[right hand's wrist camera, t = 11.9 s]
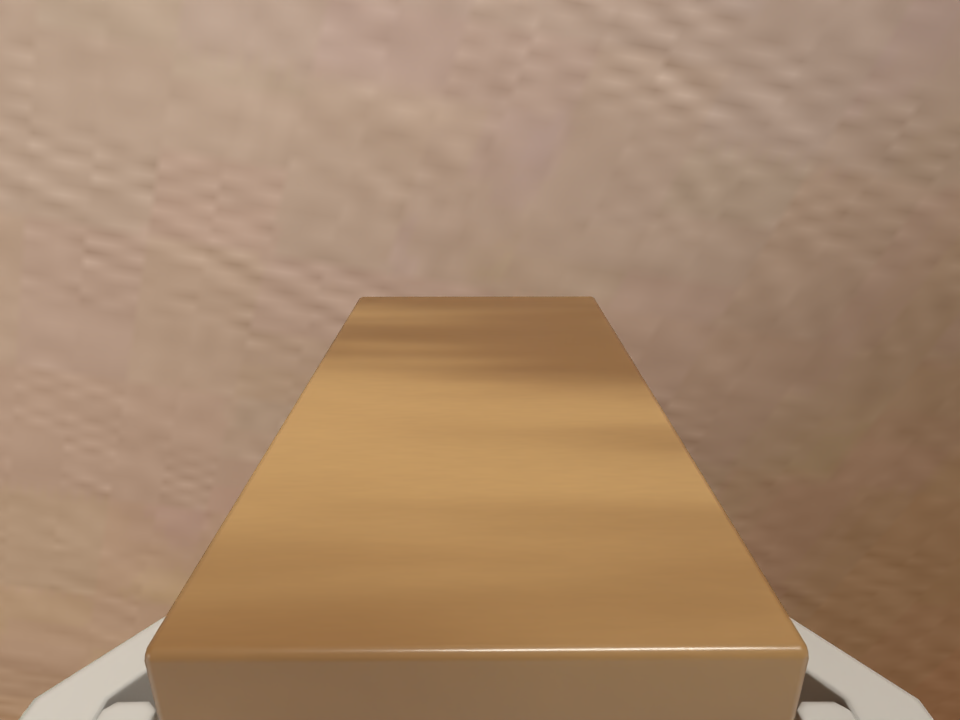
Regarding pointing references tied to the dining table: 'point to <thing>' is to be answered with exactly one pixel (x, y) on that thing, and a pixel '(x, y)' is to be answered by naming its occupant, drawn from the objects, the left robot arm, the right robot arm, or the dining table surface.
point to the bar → (477, 542)
